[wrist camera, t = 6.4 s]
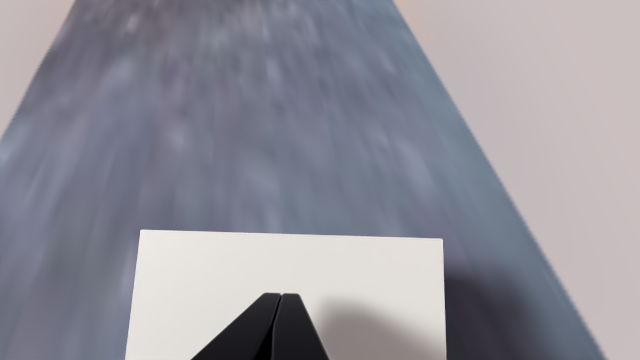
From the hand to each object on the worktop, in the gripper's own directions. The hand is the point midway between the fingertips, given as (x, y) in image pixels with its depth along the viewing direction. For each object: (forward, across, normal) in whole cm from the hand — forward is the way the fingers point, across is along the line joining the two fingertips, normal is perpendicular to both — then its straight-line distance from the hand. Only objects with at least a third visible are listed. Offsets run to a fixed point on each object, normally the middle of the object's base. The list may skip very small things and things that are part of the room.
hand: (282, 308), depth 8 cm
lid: (+1, 0, +2) cm, 3 cm away
